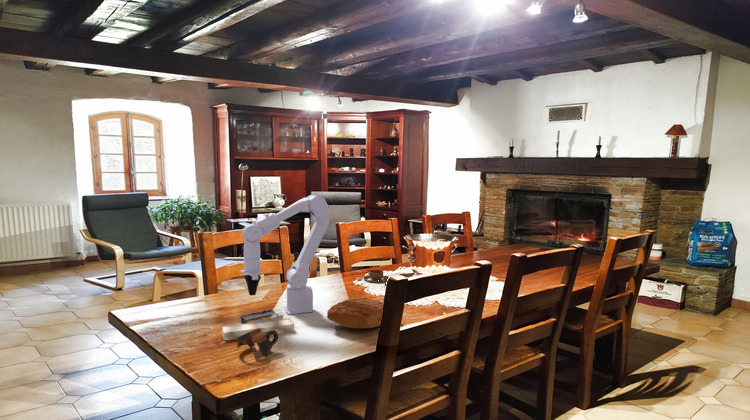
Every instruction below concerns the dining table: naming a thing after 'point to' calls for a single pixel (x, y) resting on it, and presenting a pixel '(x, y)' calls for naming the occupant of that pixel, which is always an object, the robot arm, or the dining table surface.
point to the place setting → (375, 277)
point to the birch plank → (241, 329)
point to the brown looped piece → (259, 341)
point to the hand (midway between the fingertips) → (252, 294)
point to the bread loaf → (357, 313)
